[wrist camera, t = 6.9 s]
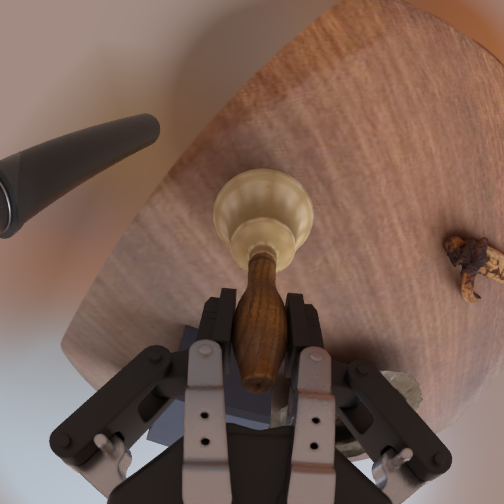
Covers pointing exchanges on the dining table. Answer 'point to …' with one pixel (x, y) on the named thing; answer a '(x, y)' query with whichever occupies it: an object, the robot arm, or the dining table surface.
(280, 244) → the hand bell
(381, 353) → the dining table surface
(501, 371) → the dining table surface
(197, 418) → the robot arm
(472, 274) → the lashed bone hook
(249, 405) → the shelf
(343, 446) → the stone bowl
